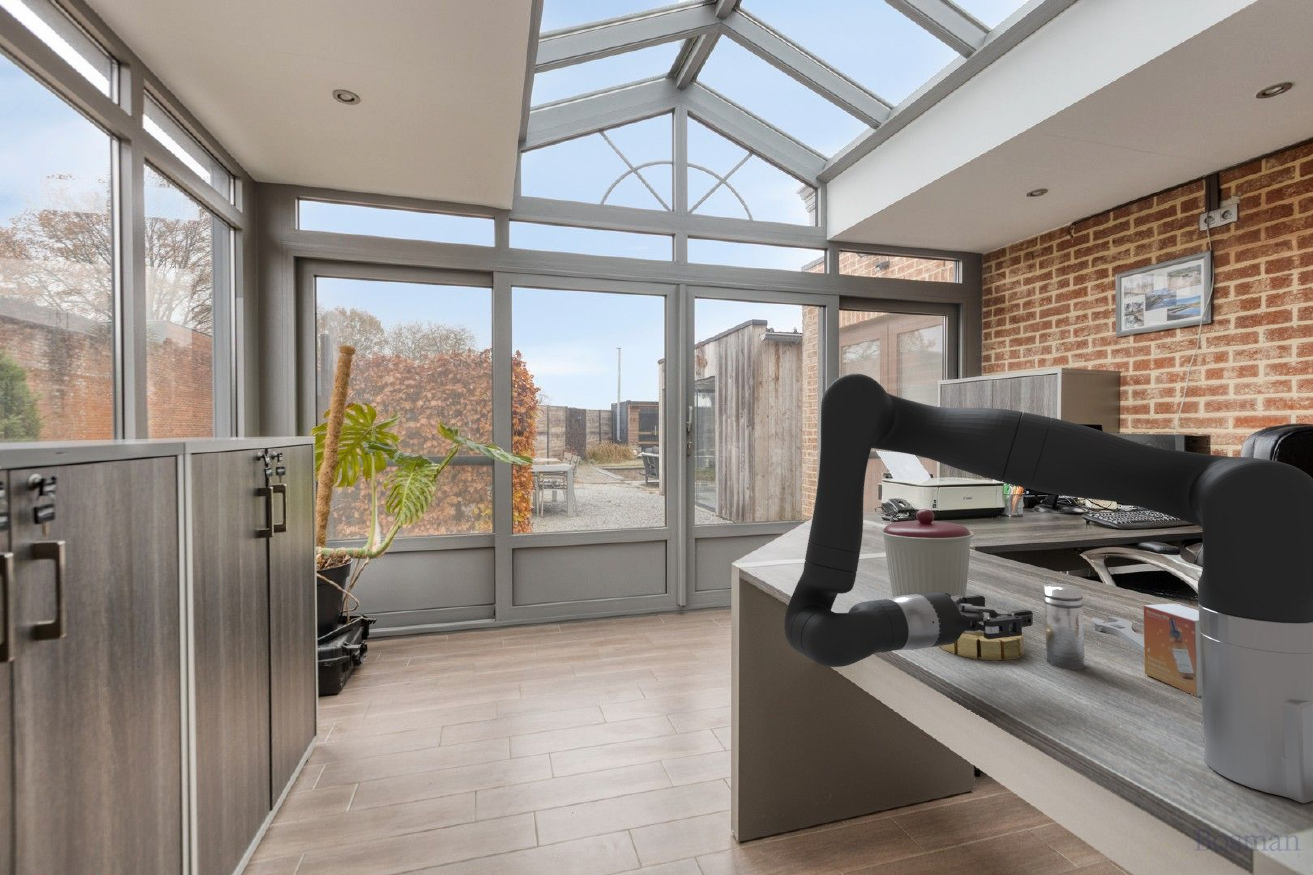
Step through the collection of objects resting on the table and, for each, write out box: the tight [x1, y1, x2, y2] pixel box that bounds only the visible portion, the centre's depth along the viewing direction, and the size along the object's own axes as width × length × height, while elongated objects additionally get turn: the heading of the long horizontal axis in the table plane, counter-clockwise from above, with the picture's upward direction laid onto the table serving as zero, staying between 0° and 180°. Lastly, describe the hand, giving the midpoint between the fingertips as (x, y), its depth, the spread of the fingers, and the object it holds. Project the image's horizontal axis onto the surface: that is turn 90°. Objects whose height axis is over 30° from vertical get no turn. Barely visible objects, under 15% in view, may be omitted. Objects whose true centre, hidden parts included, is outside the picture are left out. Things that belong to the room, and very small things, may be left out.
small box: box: [1143, 603, 1202, 698], centre depth 85 cm, size 8×6×10 cm
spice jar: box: [1043, 583, 1086, 670], centre depth 95 cm, size 5×5×12 cm
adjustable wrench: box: [1091, 616, 1144, 654], centre depth 102 cm, size 25×6×2 cm, turn 161°
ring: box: [938, 631, 1026, 661], centre depth 103 cm, size 13×13×3 cm
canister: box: [879, 508, 975, 598], centre depth 126 cm, size 18×18×21 cm
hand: (1005, 609), depth 92 cm, fingers open, 8 cm apart
